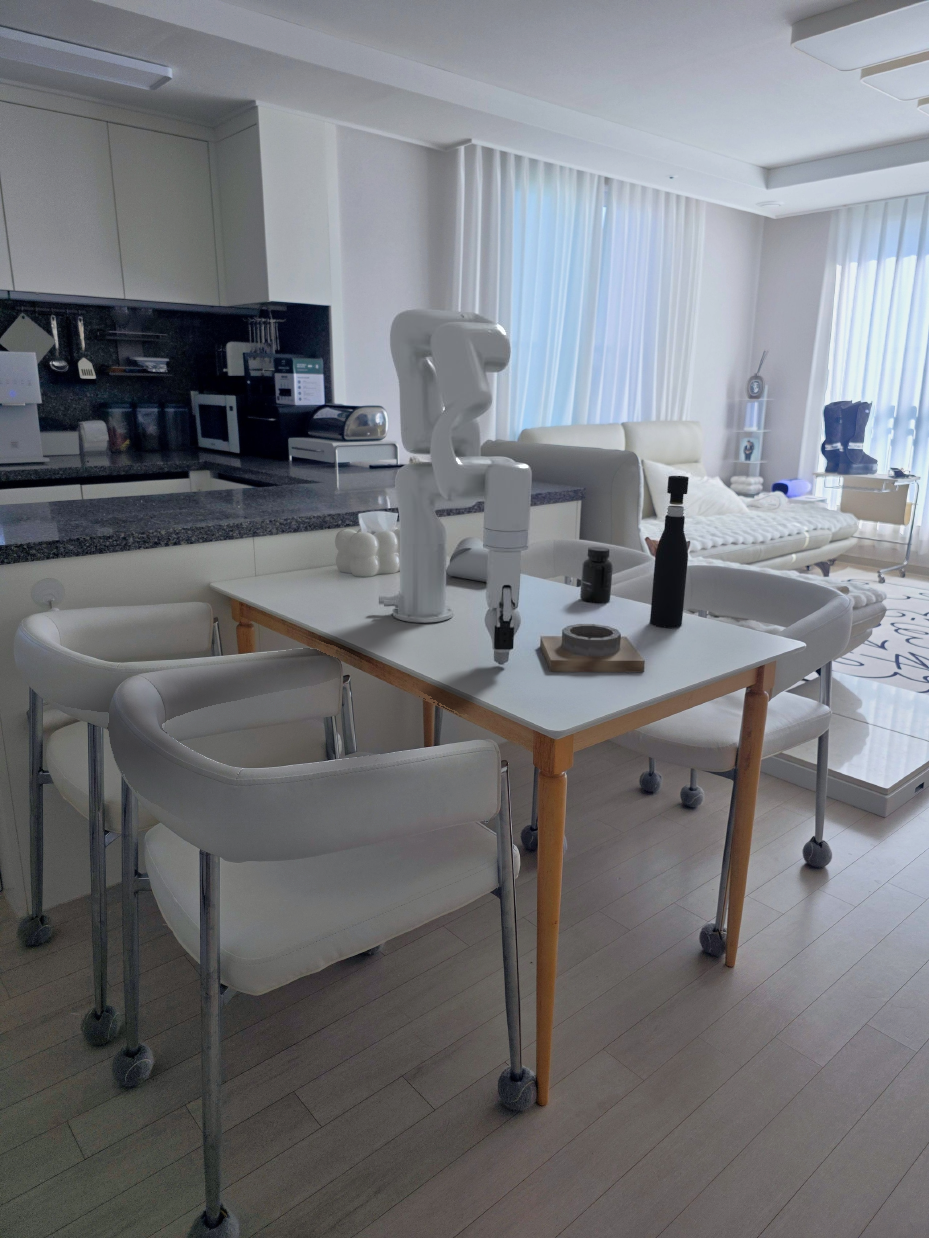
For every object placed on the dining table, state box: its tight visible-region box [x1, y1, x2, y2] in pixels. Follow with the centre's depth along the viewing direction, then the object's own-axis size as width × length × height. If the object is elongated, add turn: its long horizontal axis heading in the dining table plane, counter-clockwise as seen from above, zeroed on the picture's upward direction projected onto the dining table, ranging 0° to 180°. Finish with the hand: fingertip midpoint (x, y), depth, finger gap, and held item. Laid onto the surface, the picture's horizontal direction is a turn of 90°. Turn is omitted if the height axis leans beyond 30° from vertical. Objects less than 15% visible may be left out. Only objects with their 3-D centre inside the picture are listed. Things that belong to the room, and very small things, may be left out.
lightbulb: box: [484, 605, 522, 666], centre depth 140 cm, size 6×6×11 cm
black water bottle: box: [649, 475, 690, 629], centre depth 165 cm, size 6×6×30 cm
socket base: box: [539, 623, 646, 673], centre depth 146 cm, size 16×14×5 cm
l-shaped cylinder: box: [446, 536, 489, 583], centre depth 209 cm, size 18×11×20 cm
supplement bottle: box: [579, 546, 614, 605], centre depth 186 cm, size 7×7×12 cm
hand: (501, 641), depth 140 cm, fingers closed on lightbulb, 6 cm apart
